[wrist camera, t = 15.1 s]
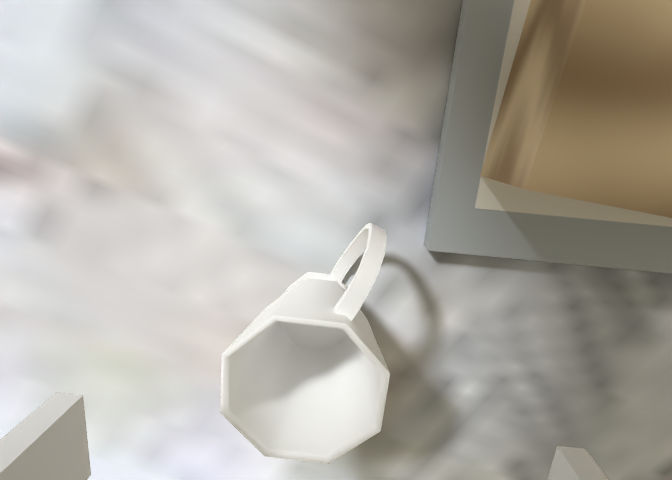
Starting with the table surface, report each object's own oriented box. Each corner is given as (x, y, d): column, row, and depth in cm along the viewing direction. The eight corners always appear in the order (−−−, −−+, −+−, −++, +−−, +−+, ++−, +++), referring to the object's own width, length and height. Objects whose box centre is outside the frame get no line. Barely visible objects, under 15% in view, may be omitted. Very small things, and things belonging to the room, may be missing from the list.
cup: (242, 325, 23) (186, 422, 15) (317, 181, 20) (297, 208, 13) (342, 374, 24) (338, 492, 16) (427, 241, 21) (473, 302, 13)
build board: (486, -153, 16) (497, -176, 15) (908, -119, 16) (953, -140, 15) (423, 244, 21) (428, 251, 20) (746, 274, 21) (771, 283, 20)
